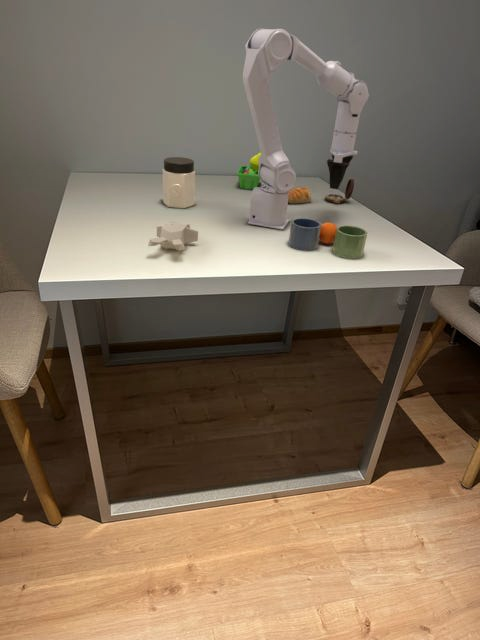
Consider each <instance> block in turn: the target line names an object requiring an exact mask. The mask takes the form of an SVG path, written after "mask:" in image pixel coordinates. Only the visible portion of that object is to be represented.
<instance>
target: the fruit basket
mask: <svg viewBox="0 0 480 640" xmlns="http://www.w3.org/2000/svg"><path fill="white" fill-rule="evenodd" d="M260 156H261V152H260V151H259V152H258V153H257V154H256V155H254V156H252V157H250V159H249V163H250V164H248V165H241V166H240V167H239V169H238V171H237V172H236V173H237V177H238V182H239V188H240V189H245V190H253V189H254V188H255V187H258V186H259V183H260V181H261V180H260V178H259V175H258V171H259V161H258V159H259V157H260Z"/></svg>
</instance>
